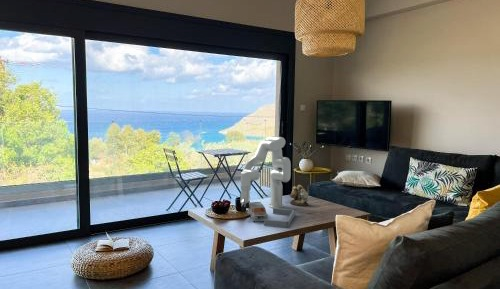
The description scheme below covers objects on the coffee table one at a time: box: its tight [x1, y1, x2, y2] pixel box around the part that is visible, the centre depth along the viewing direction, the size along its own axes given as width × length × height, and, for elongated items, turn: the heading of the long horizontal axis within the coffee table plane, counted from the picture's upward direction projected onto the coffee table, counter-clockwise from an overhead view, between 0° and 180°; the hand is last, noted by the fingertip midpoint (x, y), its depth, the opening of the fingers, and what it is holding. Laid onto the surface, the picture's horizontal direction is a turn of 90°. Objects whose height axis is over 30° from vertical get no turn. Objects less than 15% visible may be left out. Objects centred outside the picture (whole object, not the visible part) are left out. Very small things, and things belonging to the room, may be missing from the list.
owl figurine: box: [288, 184, 309, 207], centre depth 318 cm, size 18×12×17 cm, turn 55°
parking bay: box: [263, 208, 296, 229], centre depth 273 cm, size 32×17×4 cm, turn 165°
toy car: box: [248, 201, 269, 223], centre depth 278 cm, size 11×25×10 cm, turn 10°
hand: (245, 209), depth 280 cm, fingers open, 9 cm apart
